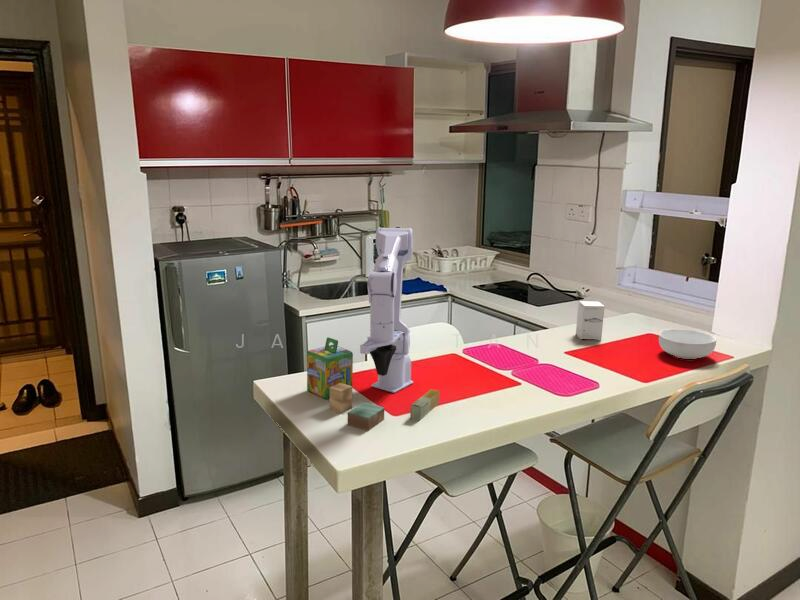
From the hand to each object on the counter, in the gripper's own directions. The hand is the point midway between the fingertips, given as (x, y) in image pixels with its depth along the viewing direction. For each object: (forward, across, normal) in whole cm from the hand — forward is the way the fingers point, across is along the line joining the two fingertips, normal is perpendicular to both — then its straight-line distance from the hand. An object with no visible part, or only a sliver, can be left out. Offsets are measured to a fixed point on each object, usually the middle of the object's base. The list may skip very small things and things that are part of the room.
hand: (382, 374), depth 148 cm
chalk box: (+11, -3, -20) cm, 23 cm away
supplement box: (+11, -95, +20) cm, 98 cm away
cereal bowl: (+11, -94, +52) cm, 108 cm away
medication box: (+11, -8, +8) cm, 15 cm away
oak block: (+10, +4, -10) cm, 15 cm away
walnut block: (+9, +3, 0) cm, 9 cm away
